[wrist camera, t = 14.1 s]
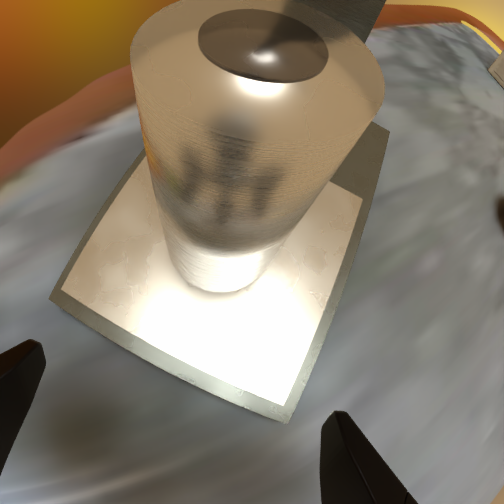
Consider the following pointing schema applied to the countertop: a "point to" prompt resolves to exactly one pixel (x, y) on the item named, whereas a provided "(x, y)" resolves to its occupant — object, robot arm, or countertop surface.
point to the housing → (245, 125)
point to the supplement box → (498, 69)
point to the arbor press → (234, 302)
